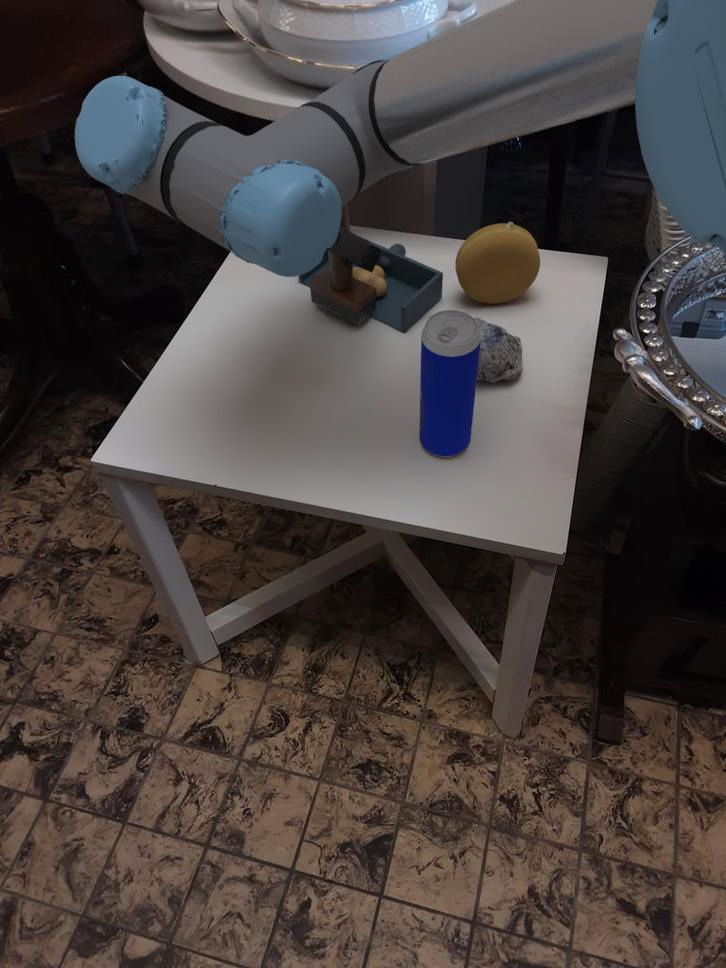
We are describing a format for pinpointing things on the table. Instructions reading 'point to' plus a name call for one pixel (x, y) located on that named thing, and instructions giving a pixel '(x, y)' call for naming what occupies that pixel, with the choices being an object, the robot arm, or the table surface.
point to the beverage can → (448, 381)
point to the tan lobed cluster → (372, 278)
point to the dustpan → (398, 287)
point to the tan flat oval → (497, 263)
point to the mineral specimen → (498, 353)
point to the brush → (343, 286)
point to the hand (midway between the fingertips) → (362, 255)
